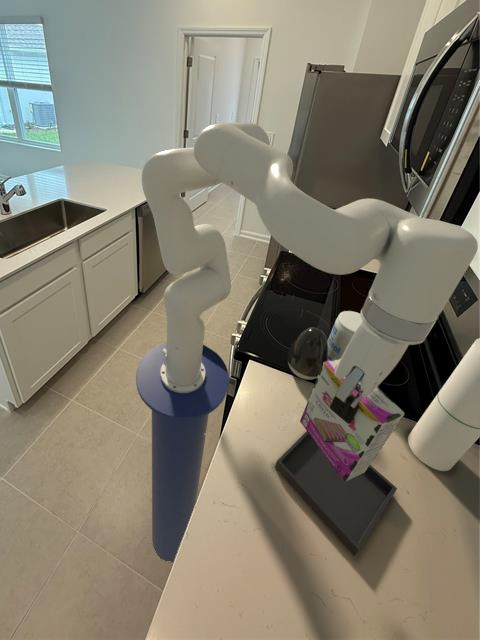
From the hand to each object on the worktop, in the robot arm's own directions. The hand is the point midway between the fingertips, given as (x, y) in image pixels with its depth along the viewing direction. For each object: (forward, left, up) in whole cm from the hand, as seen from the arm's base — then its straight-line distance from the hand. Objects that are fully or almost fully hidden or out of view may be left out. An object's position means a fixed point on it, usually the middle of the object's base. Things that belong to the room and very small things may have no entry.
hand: (351, 403), depth 48 cm
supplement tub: (-14, +37, -27) cm, 47 cm away
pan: (+2, +5, -26) cm, 27 cm away
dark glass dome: (-18, +24, -27) cm, 40 cm away
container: (+12, +29, -27) cm, 41 cm away
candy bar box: (0, 0, -12) cm, 12 cm away
